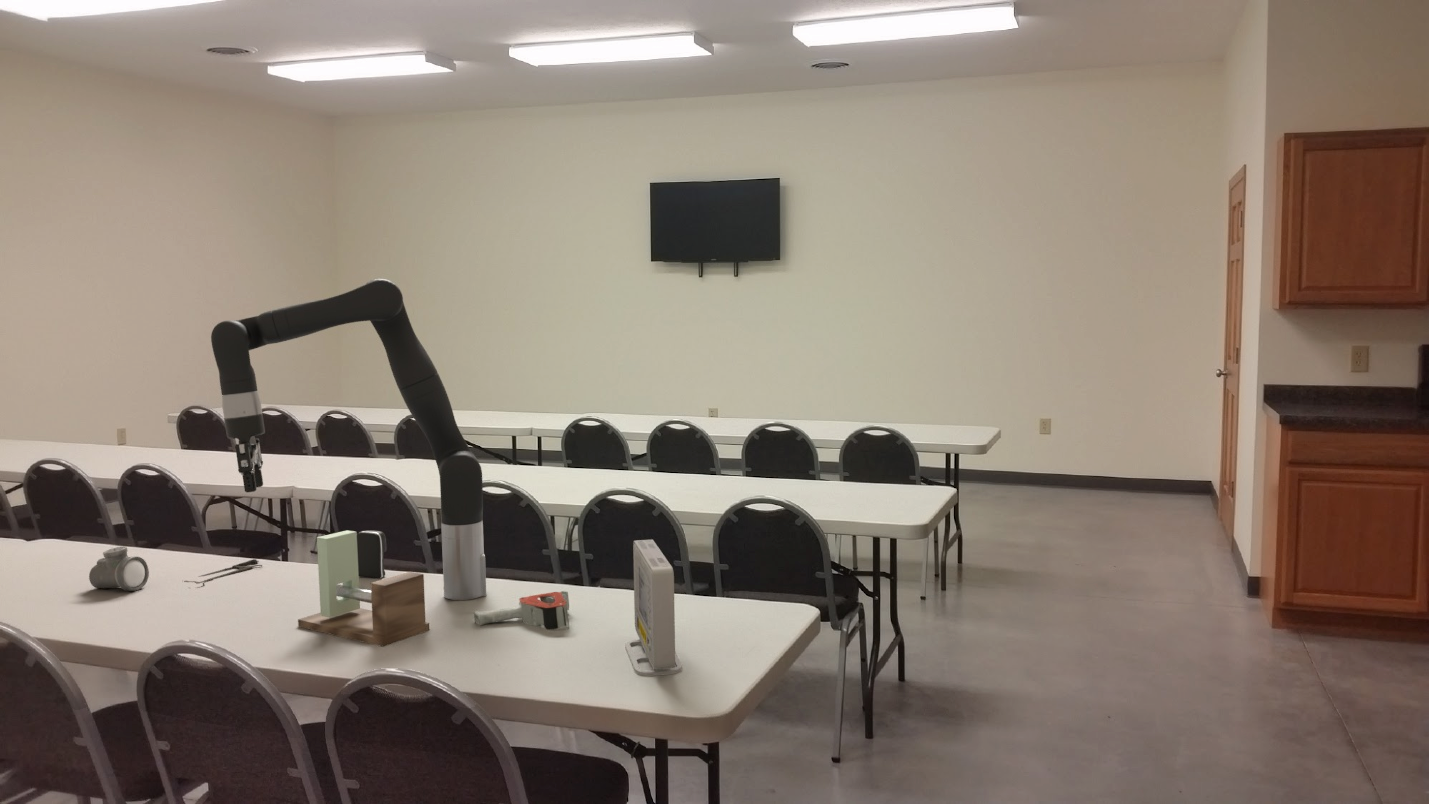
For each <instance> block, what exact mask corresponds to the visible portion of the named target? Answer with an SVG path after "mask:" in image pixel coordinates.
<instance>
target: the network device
mask: <svg viewBox="0 0 1429 804" xmlns="http://www.w3.org/2000/svg"><path fill="white" fill-rule="evenodd" d="M632 544H633V545H632V546H633V549H632V550H633V553H632V554H633V558H632V559H633V596H634V598H633V600H634V607H633V609H634V627H635V632H636V634H637V636H638V639H634V640H629V641H627V642H626V643H625V645H624V646H625V647H624V648H625V651H626V653H627V657H628V659H629V661H630V663H631V666H632V669H633V671H634V673H635V674H637V675H640V676H645V677H653V676H663V675H662V674H666V675H672V674H678V673H679V671H680V672H681V671H682V670H683V664H682V662H681V660H680V658H679V657H678V654H677V653H676V629H675V628H676V625H675V623H676V622H675V617H676V615H675V576H674V575H675V574H674V569H673V566H672V565H671V564H670V562H669V561H668V559H667V557H666V556H665V555H664V554H663V552H662V550H661V549H660V548H659V546H658V545H657V543H656V542H655V541H654V539H641V540H640V539H639V540H638V539H637V540H633V542H632ZM637 645H640V646H642V647H643V649H644V652H634V650H633V648H632V646H637ZM648 661H649V663H650V665H651V667H652V669H649V670H648V669H645V670H644V669H641V668H640V665H639V663H640V662H648Z"/></svg>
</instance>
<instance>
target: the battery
mask: <svg viewBox="0 0 1429 804" xmlns="http://www.w3.org/2000/svg"><path fill="white" fill-rule="evenodd" d="M357 552H358V574H359V577H360V578H367V579H382V578H383V577H385V576H386V571H385V567H384V566H385V565H384V554H385V552H387V537H386V535H385V533H384V532H383V531H380V530H362V531H359V532H358V533H357Z"/></svg>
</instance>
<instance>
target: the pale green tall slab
mask: <svg viewBox="0 0 1429 804" xmlns="http://www.w3.org/2000/svg"><path fill="white" fill-rule="evenodd" d="M357 534H358V533H357V531H354V530H343V531H339V532H333V533H330V534H326V535H320V536H317V537H316V546H317V548H316V550H317V564H318V565H317V569H318V584H319V586H318V587H319V606H320V613H321V616H324V617H329V618H331V617H334V616H338V615H341V614H344V613H347V612H350V611H354V610H357V609H360V608H361V601H358V600H353V599H348V598H343V597H338V596H336V584H339V585H341V584H342V585H344V586H349V587H354V588H359V589H360V581H359V579H360V578H359V574H358V552H357ZM337 597H338V598H337Z"/></svg>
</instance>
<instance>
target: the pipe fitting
mask: <svg viewBox="0 0 1429 804" xmlns="http://www.w3.org/2000/svg"><path fill="white" fill-rule="evenodd" d="M128 551H129V550H128V547H127V546H124V545H123V546H118V547H114V548H113V547H112V548H110V549H108V550H104V551H103V552H102V554H103V555H102V556H103V557H102V558H99V559H98V560H97V561H96V564H95V565H94V566H93V567H91V569H90V571H89V576H88V579H89V582H90V585H91V586H92V587H94V588H96V589H99V588H101V589H115V588H120V589H122V590H124V591H126V592H128V591H129V592H136V590H137V591H140V590H141V589H143V587H145V585H146V584H147V582H148V579H149V576H150V570H149V566H148V564H147V562H146V560H145V559H144V558H143V557H140V556H135V555H133V556H128Z"/></svg>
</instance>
